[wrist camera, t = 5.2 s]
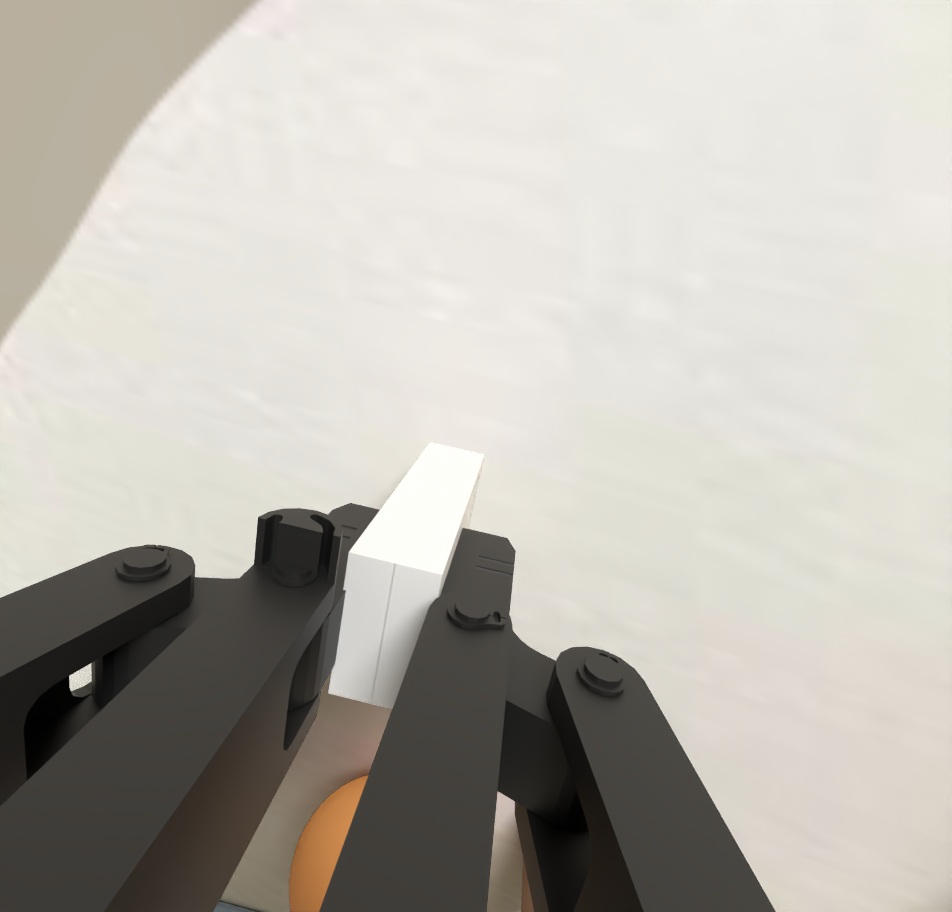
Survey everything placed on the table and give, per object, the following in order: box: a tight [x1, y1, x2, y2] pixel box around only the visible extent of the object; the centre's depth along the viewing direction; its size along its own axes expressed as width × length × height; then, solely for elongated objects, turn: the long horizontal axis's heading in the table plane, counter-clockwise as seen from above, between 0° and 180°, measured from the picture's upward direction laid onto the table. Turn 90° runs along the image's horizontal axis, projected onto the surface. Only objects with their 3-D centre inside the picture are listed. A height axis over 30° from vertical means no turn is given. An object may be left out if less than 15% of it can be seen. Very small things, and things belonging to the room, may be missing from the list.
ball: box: [289, 775, 368, 912], centre depth 18 cm, size 6×6×6 cm
